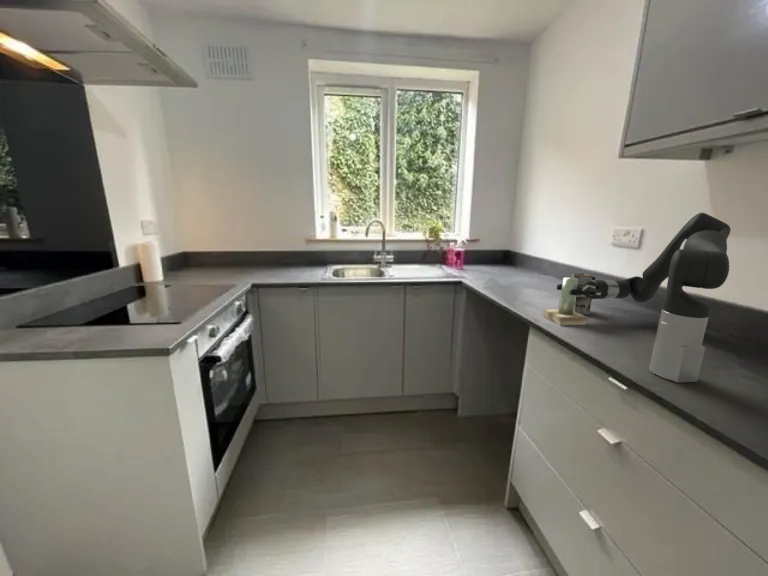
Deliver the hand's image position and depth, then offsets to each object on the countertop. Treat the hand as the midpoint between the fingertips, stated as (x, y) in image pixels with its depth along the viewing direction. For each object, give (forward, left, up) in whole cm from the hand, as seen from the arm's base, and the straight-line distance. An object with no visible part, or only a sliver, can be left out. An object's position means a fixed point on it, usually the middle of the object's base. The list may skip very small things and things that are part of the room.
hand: (564, 289), depth 134 cm
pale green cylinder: (0, -2, -10) cm, 10 cm away
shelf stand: (0, -2, -12) cm, 13 cm away
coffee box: (+12, -17, -13) cm, 24 cm away
